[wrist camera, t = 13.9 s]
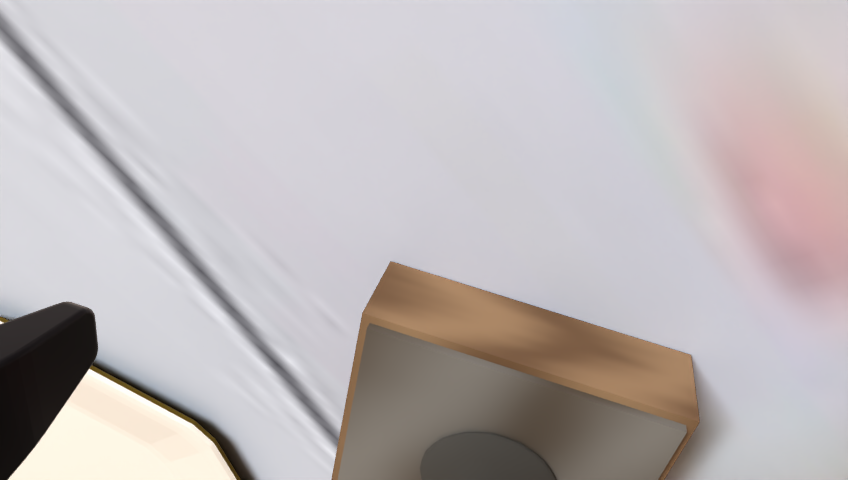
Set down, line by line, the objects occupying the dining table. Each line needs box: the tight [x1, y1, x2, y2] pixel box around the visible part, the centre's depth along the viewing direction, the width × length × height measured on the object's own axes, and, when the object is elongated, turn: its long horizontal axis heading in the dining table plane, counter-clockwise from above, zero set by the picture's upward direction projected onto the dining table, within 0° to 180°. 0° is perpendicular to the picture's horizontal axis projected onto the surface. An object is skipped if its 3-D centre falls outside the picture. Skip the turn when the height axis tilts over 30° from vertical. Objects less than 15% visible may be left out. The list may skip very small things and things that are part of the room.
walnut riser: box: [332, 262, 700, 480], centre depth 25 cm, size 11×11×4 cm
